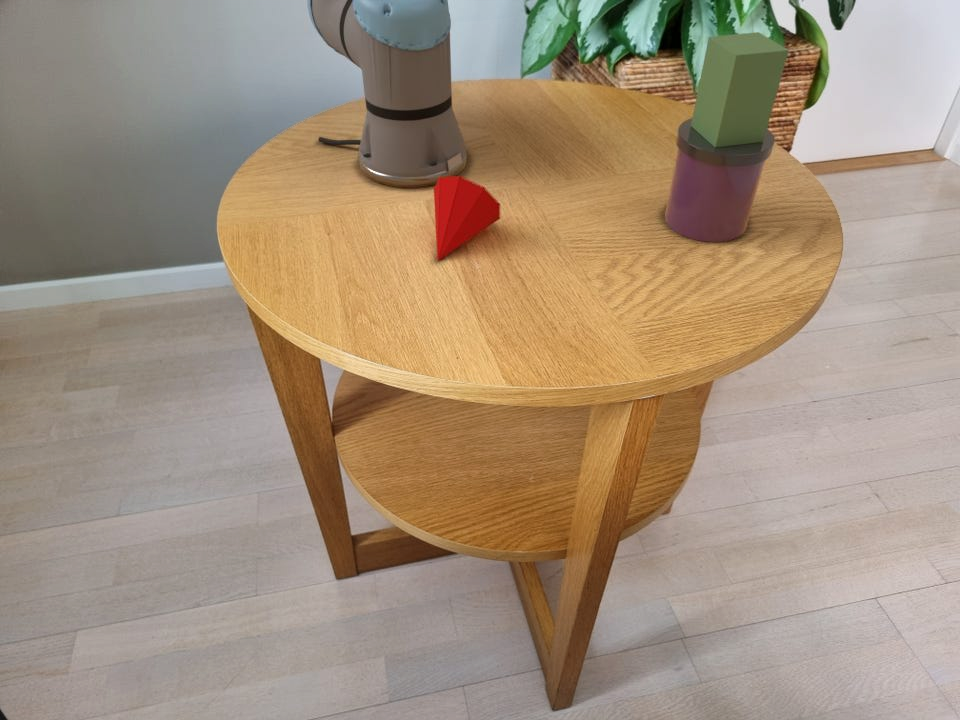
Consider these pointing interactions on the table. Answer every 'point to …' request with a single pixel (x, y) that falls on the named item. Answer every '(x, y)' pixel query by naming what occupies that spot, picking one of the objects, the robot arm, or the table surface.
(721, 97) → the green block
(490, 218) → the gemstone
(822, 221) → the table surface
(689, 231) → the jar
